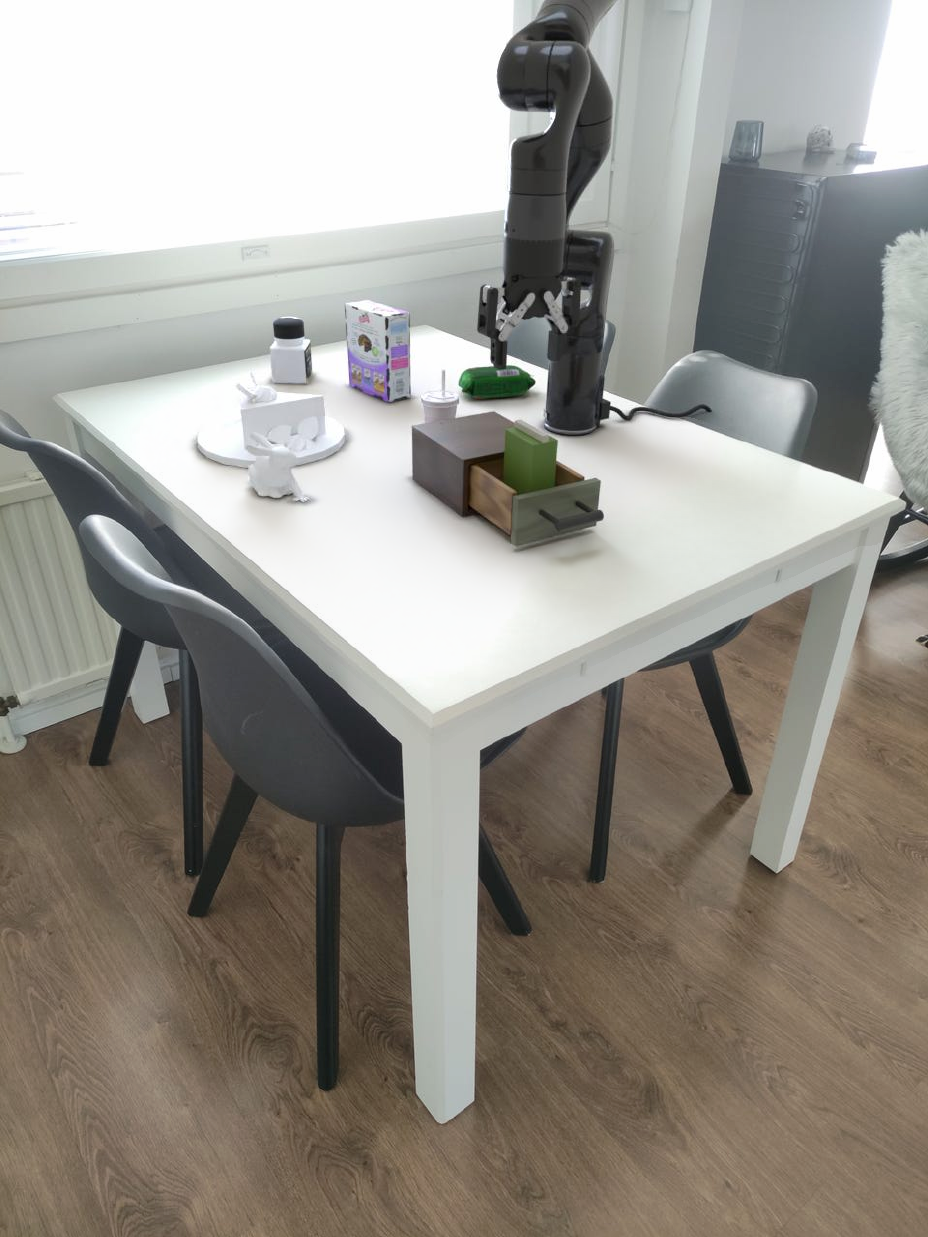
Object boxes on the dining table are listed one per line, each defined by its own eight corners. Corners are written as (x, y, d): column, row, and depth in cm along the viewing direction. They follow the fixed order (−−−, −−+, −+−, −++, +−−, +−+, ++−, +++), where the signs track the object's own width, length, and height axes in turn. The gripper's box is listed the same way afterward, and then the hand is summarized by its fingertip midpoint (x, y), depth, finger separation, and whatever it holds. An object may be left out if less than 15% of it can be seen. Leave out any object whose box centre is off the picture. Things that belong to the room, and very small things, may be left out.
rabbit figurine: (311, 501, 136) (306, 439, 131) (264, 513, 133) (257, 450, 127) (275, 475, 145) (270, 415, 139) (230, 485, 141) (223, 425, 136)
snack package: (539, 398, 180) (541, 371, 177) (463, 402, 176) (463, 375, 174) (528, 387, 186) (530, 361, 183) (454, 391, 182) (454, 365, 180)
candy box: (412, 398, 179) (411, 311, 170) (387, 403, 175) (385, 315, 167) (371, 380, 187) (368, 297, 179) (347, 386, 184) (343, 301, 176)
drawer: (620, 541, 125) (625, 494, 121) (537, 563, 119) (540, 515, 115) (538, 489, 139) (541, 446, 136) (461, 506, 133) (462, 462, 130)
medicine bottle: (307, 384, 185) (303, 323, 178) (272, 383, 185) (266, 322, 178) (312, 373, 191) (308, 314, 185) (278, 373, 191) (273, 314, 185)
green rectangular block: (502, 501, 132) (505, 421, 126) (525, 496, 134) (529, 417, 128) (528, 520, 127) (533, 437, 121) (552, 514, 129) (558, 433, 123)
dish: (196, 472, 145) (186, 403, 139) (201, 420, 166) (192, 357, 160) (351, 463, 149) (348, 395, 143) (337, 413, 170) (334, 352, 164)
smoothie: (454, 460, 151) (455, 376, 144) (416, 457, 152) (415, 373, 145) (462, 447, 156) (463, 365, 149) (425, 443, 157) (425, 362, 150)
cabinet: (546, 497, 139) (550, 442, 134) (462, 516, 133) (463, 459, 128) (492, 462, 151) (493, 410, 146) (412, 479, 144) (411, 425, 140)
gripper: (501, 240, 106) (496, 379, 115) (599, 233, 112) (587, 364, 121) (468, 231, 112) (466, 363, 120) (564, 224, 118) (555, 351, 126)
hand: (527, 364), depth 120 cm, fingers open, 8 cm apart
